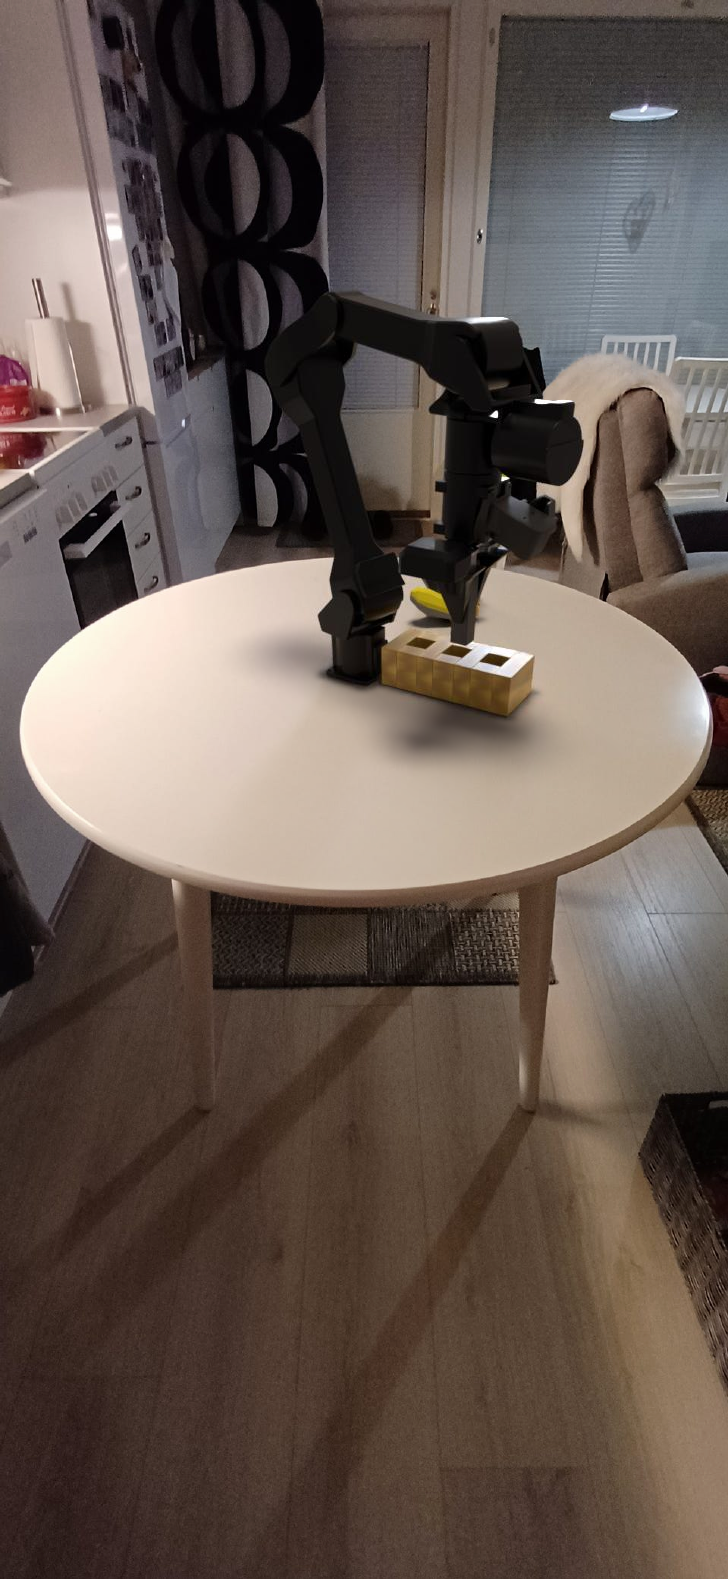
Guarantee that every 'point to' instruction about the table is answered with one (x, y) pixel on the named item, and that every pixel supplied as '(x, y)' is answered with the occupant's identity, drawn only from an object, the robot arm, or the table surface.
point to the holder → (458, 671)
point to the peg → (467, 618)
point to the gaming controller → (431, 601)
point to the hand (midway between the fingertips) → (463, 619)
